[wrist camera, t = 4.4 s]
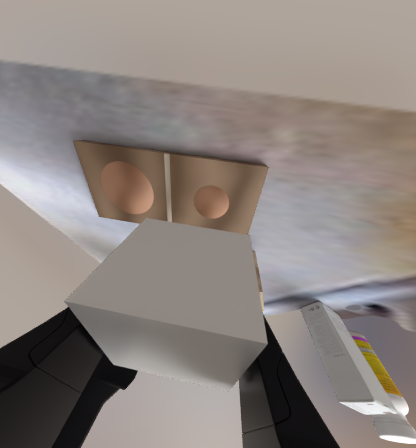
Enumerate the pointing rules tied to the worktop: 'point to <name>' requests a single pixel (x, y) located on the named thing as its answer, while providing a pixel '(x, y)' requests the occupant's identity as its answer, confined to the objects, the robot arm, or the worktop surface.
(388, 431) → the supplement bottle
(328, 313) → the skincare box
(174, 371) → the block
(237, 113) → the worktop surface
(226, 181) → the board
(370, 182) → the worktop surface
